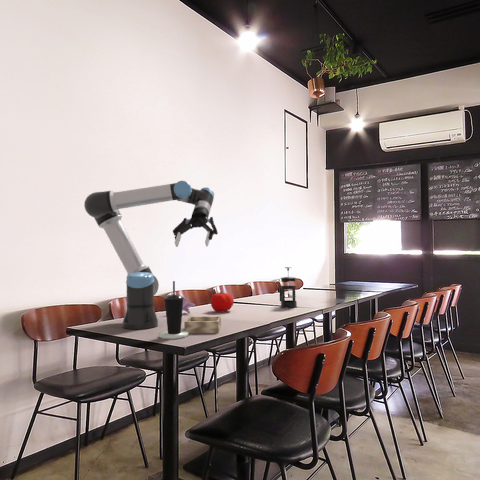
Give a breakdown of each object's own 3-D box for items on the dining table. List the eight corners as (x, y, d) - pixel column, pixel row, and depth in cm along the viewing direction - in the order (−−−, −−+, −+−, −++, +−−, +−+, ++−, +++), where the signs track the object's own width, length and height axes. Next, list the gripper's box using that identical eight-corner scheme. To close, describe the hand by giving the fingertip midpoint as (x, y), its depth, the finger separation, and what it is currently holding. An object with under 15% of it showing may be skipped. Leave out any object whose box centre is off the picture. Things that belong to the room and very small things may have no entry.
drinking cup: (174, 330, 165) (174, 280, 166) (188, 332, 161) (187, 280, 161) (160, 333, 159) (159, 281, 160) (173, 335, 154) (173, 282, 155)
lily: (197, 316, 216) (198, 299, 221) (181, 309, 208) (182, 292, 213) (181, 321, 222) (182, 305, 227) (164, 315, 214) (166, 298, 219)
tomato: (212, 310, 231) (212, 291, 231) (234, 309, 231) (234, 290, 231) (209, 313, 218) (209, 293, 218) (232, 313, 217) (232, 293, 218)
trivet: (156, 339, 154) (156, 336, 154) (162, 333, 165) (162, 330, 165) (185, 339, 154) (185, 335, 154) (190, 333, 165) (190, 330, 165)
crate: (184, 333, 165) (184, 321, 165) (189, 327, 179) (189, 316, 179) (218, 332, 165) (218, 321, 165) (221, 326, 179) (220, 316, 179)
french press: (301, 307, 238) (300, 267, 238) (290, 308, 232) (289, 267, 232) (286, 305, 247) (285, 266, 247) (275, 306, 241) (274, 267, 241)
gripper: (228, 217, 192) (221, 250, 177) (177, 219, 197) (166, 251, 182) (225, 205, 187) (217, 237, 172) (173, 207, 192) (161, 238, 177)
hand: (191, 244), depth 177 cm, fingers open, 13 cm apart
